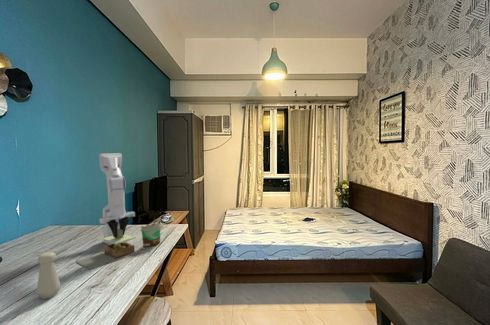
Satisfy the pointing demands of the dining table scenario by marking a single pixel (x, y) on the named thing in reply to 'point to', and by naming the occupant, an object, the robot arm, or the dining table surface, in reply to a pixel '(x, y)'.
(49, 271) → the salt shaker
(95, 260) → the mat
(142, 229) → the food container
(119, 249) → the box
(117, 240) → the lid
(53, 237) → the dining table surface
